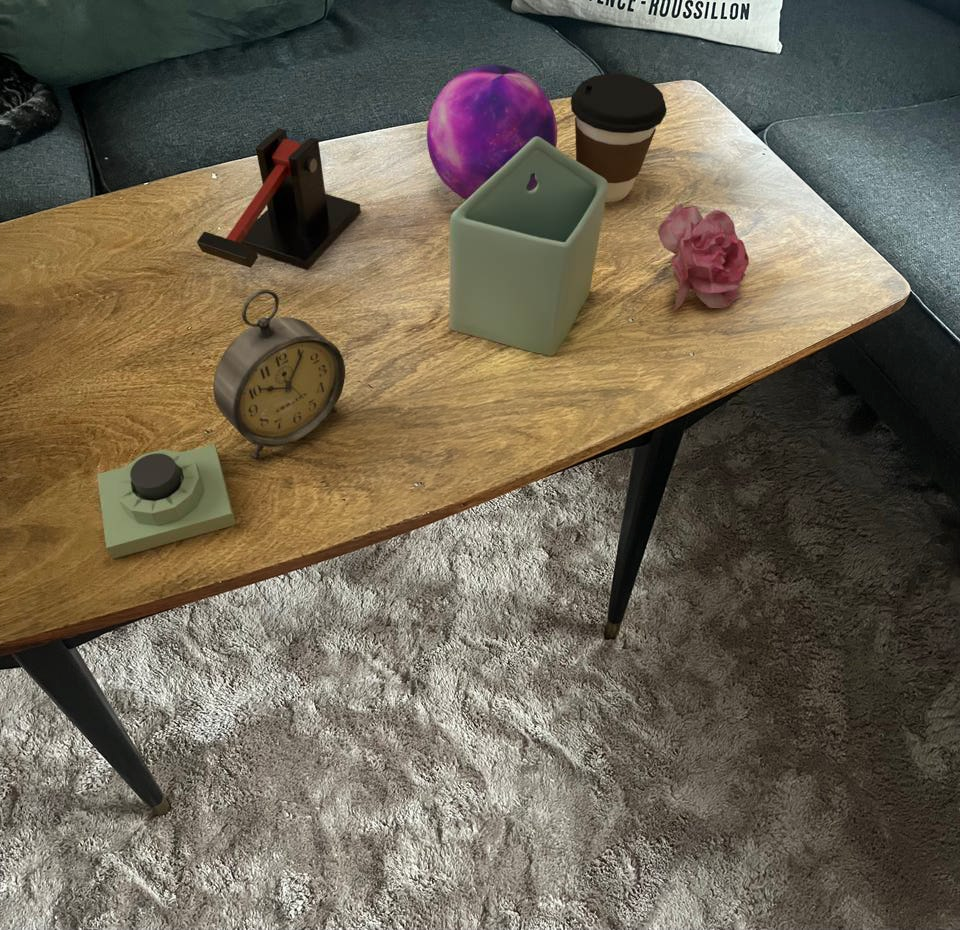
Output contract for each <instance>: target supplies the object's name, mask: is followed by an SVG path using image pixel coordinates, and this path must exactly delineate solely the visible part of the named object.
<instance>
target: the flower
mask: <svg viewBox="0 0 960 930" xmlns="http://www.w3.org/2000/svg"><path fill="white" fill-rule="evenodd" d="M657 234H658V237H659V241H660V242H661V244H662V247H663V248H664V249H666V250H667V251H669V252H671V254H674V255H673V256H672V257H671V258H670V259H669V260H668V261H667V262H664V263H663V265H666V264H670V265H671V267H672V270H673V276H674V278H675V281H676V282H677V283H678V289H677V290H676V292H675V295H676V296H675V297H676V299H675V302H674V305H673V310H674V311H675V312H676V311H677V310H678V309H679V307H680V306H682V304H683V303H684V302H685V300H686V298H687V297H688V295H689V293H690V292H691V290H693V292H694V294H695V295H696V296H697V298H698V299H699V300H700V301H701V302H702V303H704V304H705V305H706V306H707V307H708V308H712V309H724V308H727V307H729V306H730V304H731V303H733V302H735V301H737V300H738V299H739V297H740V292H739V290H738V289H739V287H740V285H741V282H742V281H743V280H744V278H745V277H746V271H747V268H748V266H749V265H750V263H749V260H750V258H749V255H748V253H747V249H746V246H745V243H744V242H743V240H742V239H740V238H738V235H737V233H736V227H735V223H734V221H733V219H731V216H729V215H728V214H727V212H725V211H722V210H719V209H716V210H715V209H714V210H712V211H710V212H709V213H707V214H706V215H705V216H704V217H703V215H702V214H701V212H700V210H699V208H698V206H695V205H690V206H685V207H684V206H683V203H680V204H677V205H674V206H673V208H672V209H671V211H670V212H669V213H668V214H667V216H665V218H664V219H663V221H662V222H661V223H660V225H659V227H658V229H657ZM660 265H662V263H661V264H660V263H659V266H660ZM656 266H657V264H653V265H650V267H656Z"/></svg>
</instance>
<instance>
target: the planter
mask: <svg viewBox="0 0 960 930" xmlns="http://www.w3.org/2000/svg"><path fill="white" fill-rule="evenodd" d="M532 173H535V179H536V181H537V186H536V187H535V188H534V189H533V190H531V191H527V189H526V186H527V184H528V183H529V181H530V176H531V174H532ZM607 187H608V183H607V181H606V179H605V178H603V177H602V176H600V175H598V174H596V173H595V172H593V171H592V170H590V169H588V168H587V167H585V166H584V165H582V164H581V163H579V162H577V161H576V159H574V158H572V157H571V156H569V155H568V154H566V153H564V152H563V151H561V150H559V148H557V147H556V148H555V147H554V146H552V145H551V144H549V143H548V142H546V141H545V140H543V139H542V138H540V137H538V136H536V137H534V138H532V139H531V140H530V141H529V142H528V143H527V144H526V145H525V146H524V147H523V148H522V149H521V150H520V151H519V152H518V153H517V154H516V155H515V156H514V157H512V158H511V159H510V160H509V161H508V162H507V163H506V164H505V165H504V166H503V167H502V168H501V169H500V170H498V171H497V172H496V173H495V174H494V175H493V176H492V177H491V178H490V179H489V180H487V181H486V182H485V183H484V184H483V185H482V186H481V187H480V188H479V189H478V190H477V191H475V192H474V193H473V194H472V195H471V196H470V197H469V198H468V199H465V200H464V202H463V203H461V204H460V205H459V206H458V207H457V208H456V209H455V210H454V211H453V212H452V214H451V215H450V218H449V285H448V287H449V288H448V289H449V290H448V291H449V293H448V294H449V307H448V309H449V310H448V311H449V312H448V313H449V314H448V315H449V316H448V317H449V318H448V327H449V329H450V330H452V331H454V332H458V333H460V334H465V335H469V336H472V337H477V338H479V339H483V340H487V341H491V342H494V343H498V344H503V345H505V346H509V347H511V348H516V349H520V350H523V351H527V352H532V353H536V354H540V355H545V356H549V357H551V356H554V355H555V354H556V352H557V351H558V349H559V348H560V346H561V345H562V344H563V342H564V341H565V340H566V338H567V336H568V334H569V332H570V330H571V329H572V326H573V325H574V323H575V321H576V319H577V317H578V316H579V313H580V312H581V310H582V308H583V306H584V304H585V303H586V301H587V299H588V298H589V295H590V293H591V292H590V291H591V287H592V282H593V276H594V275H593V274H594V269H595V263H596V259H597V258H596V257H597V253H598V246H599V240H600V234H601V229H602V224H603V223H602V222H603V217H604V212H605V206H606V202H605V201H606V194H607Z"/></svg>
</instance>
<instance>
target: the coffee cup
mask: <svg viewBox="0 0 960 930" xmlns="http://www.w3.org/2000/svg"><path fill="white" fill-rule="evenodd" d="M570 108H571V112H572V113H573V114H574V115H575V117H574V128H575V129H574V130H575V160H576V161H577V162H579V163H581V164H582V165H584V166H585V167H587V168H588V169H590V170H592V171H593V172H595V173H596V174H598V175H600V176H602V177H603V178H605V179H606V181H607V183H608V187H607V194H606V201H605V203H615V202H620V201H621V200H623V199H625V198H626V197H627V196H628V195H629V194H630V193H631V191H632V189H633V187H634V184H635V182H636V179H637V177H638V175H639V173H640V171H641V170H642V168H643V165H644V162H645V160H646V157H647V154H648V152H649V149H650V146H651V144H652V142H653V138H654V136H655V133H656V132H657V131H656V130H657V129H656V128H657V126H659V125H661V124H662V122H663V121H664V119H665V117H666V115H667V111H668V110H667V105H666V101H665V98H664V94H663V92H662V91H661V90H660V89H659V88H658V87H657V86H656V85H655V84H654V83H651V82H650V81H648V80H646V79H644V78H641V77H638V76H634V75H630V74H625V73H605V74H598V75H593V76H591V77H588V78H586V79H585V80H583V81H581V82H580V84H579V85H578V86H577V88H576V89H575V91H574V92H573V93H572V95H571V97H570Z"/></svg>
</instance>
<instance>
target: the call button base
mask: <svg viewBox="0 0 960 930" xmlns="http://www.w3.org/2000/svg"><path fill="white" fill-rule="evenodd" d="M156 453H160V454H165V455H168V456H170V457H171V458H172V459H173V460H174V461H175V463H176V466H177V468H178V471H179V473H180V476H181V484H180V486H179V488H178V489H177V491H176V492H175V493H173V494H172V495H171V496H169V497H167V498H165V499H161V500H154V501H153V500H147V499H144V498H142V497H141V496H140V495H139V494H138V492H137V490H136V488H135V486H134V484H133V482H132V480H131V477H130V472H131V469H132V467H133V465H134V464H135V463H136V462H137V461H138V460H139V459H141V458H142V457H144V456H147V455H150V454H156ZM96 477H97V484H98V494H99V500H100V501H99V502H100V507H101V508H100V509H101V517H102V523H103V524H102V525H103V533H104V541H105V547H106V550H107V551H108V553H109V555H110V556H111V558H112V560H115V559H118V558H122V557H125V556H130V555H133V554H136V553H140V552H143V551H147V550H151V549H153V548H157V547H162V546H164V545H169V544H171V543H175V542H179V541H182V540H186V539H190V538H194V537H197V536H200V535H205V534H207V533H211V532H215V531H218V530H222V529H226V528H230V527H233V526H236V525H237V523H236V519H235V515H234V510H233V507H232V502H231V499H230V493H229V490H228V486H227V482H226V478H225V474H224V470H223V466H222V461H221V457H220V454H219V451H218V448H217V445H216V444H215V443H214V444H210V445H206V446H201V447H198V448H194V449H189V450H186V451H177V450H169V449H159V450H154V451H150V452H147V453H143V454H141V455H140V456H138V457H137V458H135V459H134V460H132V461H131V462H129V463H128V464H127V465H125V466H123V467H119V468H114V469H111V470H107V471H103V472H100V473H99V472H98V473H96Z"/></svg>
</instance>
